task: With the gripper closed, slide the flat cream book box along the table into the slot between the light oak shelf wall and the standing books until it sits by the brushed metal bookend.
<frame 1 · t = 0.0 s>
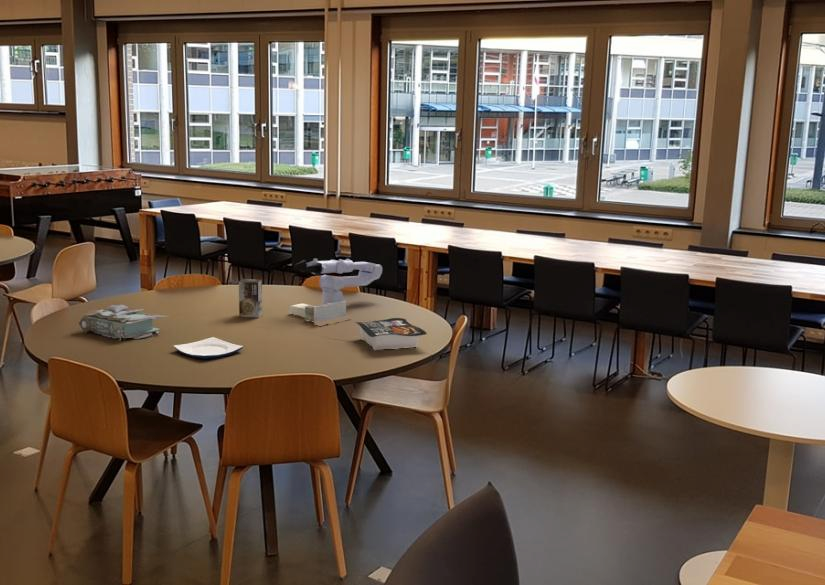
hand: (300, 267, 375), 22 cm above the table, tool horizontal, fingers open, 7 cm apart
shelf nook: (323, 319, 373), on the table
coffee box: (250, 316, 375), on the table
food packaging: (388, 344, 338), on the table
plate: (208, 353, 317), on the table
metal bookend: (332, 313, 368), on the table
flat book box: (305, 315, 380), on the table
ornate book: (123, 333, 340), on the table
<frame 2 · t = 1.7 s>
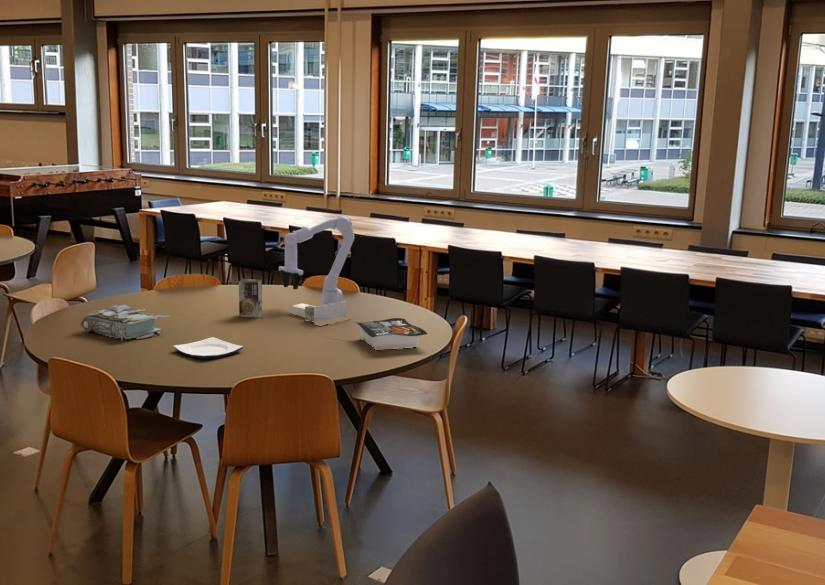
hand: (290, 288, 391), 9 cm above the table, tool pointing down, fingers open, 6 cm apart
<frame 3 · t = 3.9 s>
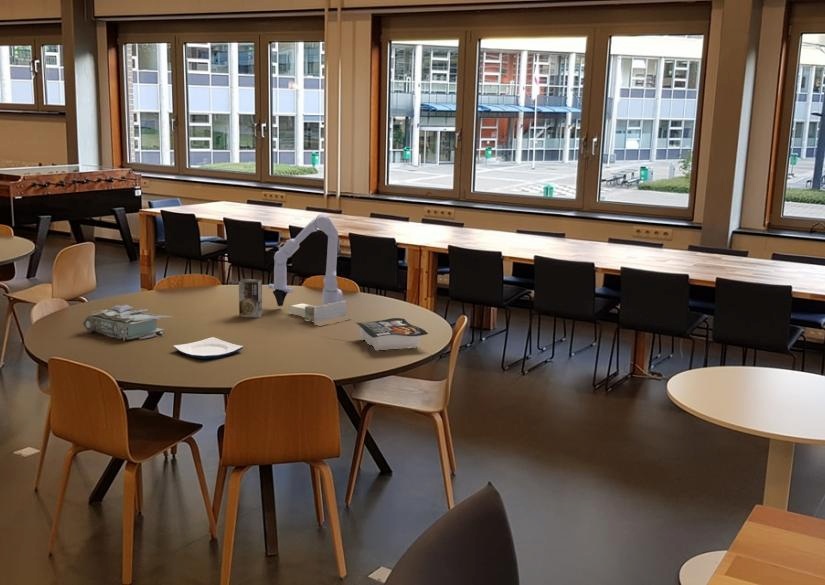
hand: (280, 305, 390), 1 cm above the table, tool pointing down, fingers closed
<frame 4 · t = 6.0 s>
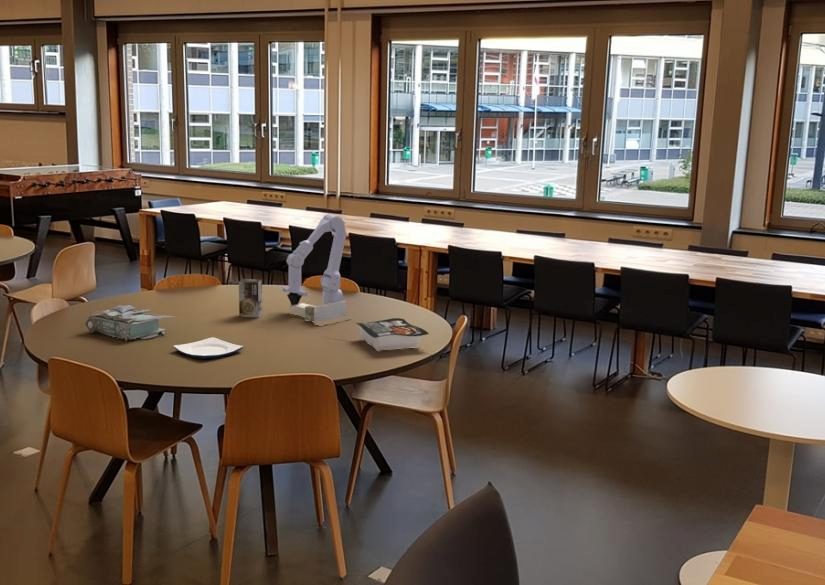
hand: (294, 309, 384), 1 cm above the table, tool pointing down, fingers closed
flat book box: (305, 315, 380), on the table, touching gripper
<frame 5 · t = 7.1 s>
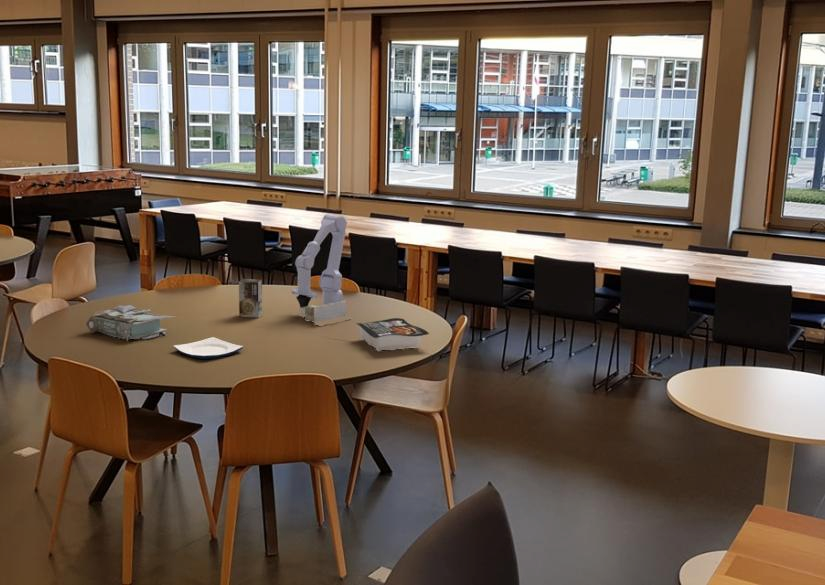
hand: (303, 311, 380), 1 cm above the table, tool pointing down, fingers closed
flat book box: (315, 317, 376), on the table, touching gripper
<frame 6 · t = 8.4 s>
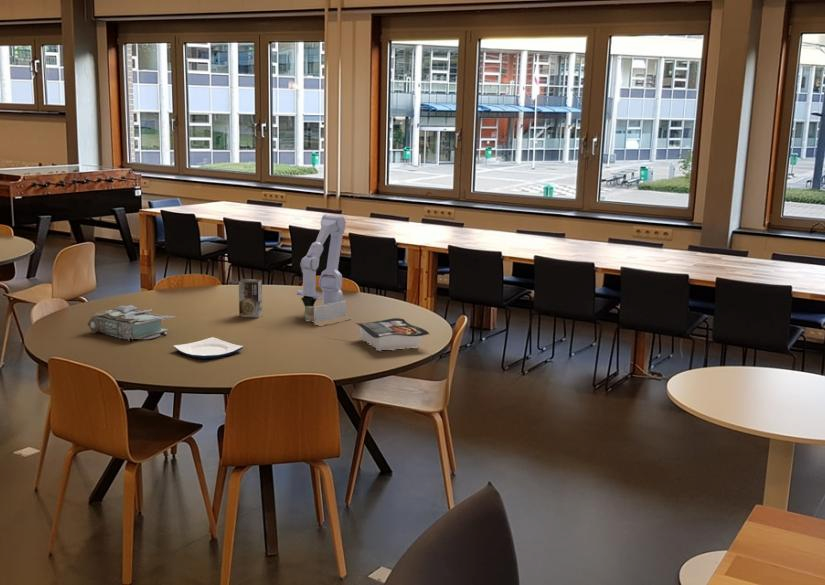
hand: (308, 312, 378), 1 cm above the table, tool pointing down, fingers closed
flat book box: (320, 318, 374), on the table, touching gripper
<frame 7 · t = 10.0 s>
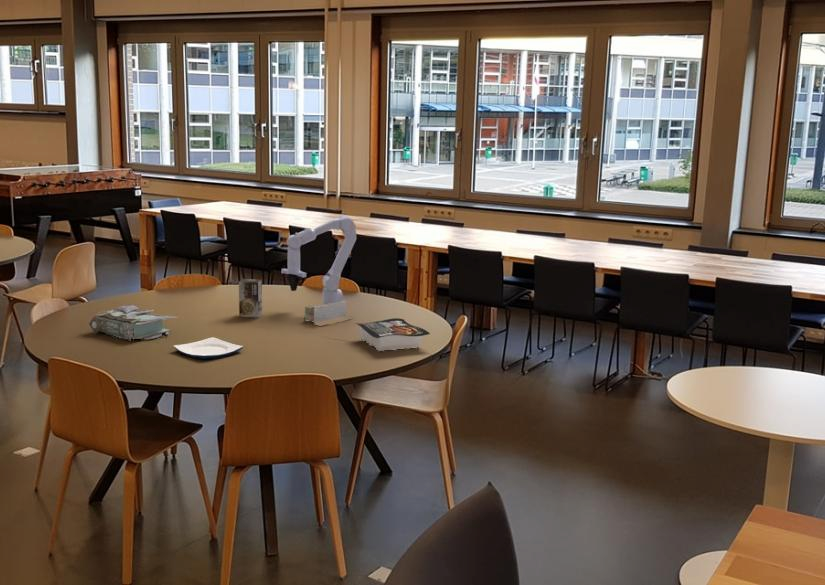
hand: (293, 290, 387), 9 cm above the table, tool pointing down, fingers closed
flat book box: (320, 319, 374), on the table
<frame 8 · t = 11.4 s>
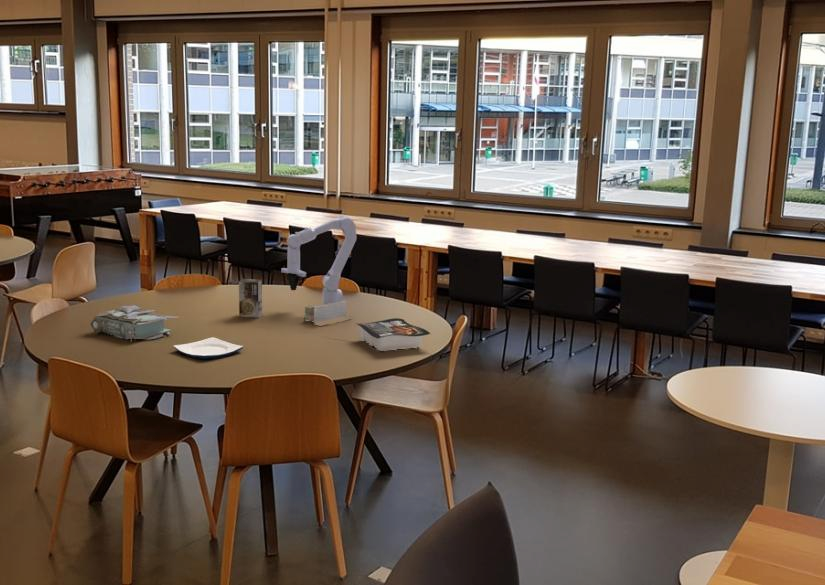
hand: (293, 289, 387), 9 cm above the table, tool pointing down, fingers closed
at the end: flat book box 0.2 cm from the target spot, on the table; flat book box tilted 0° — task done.
